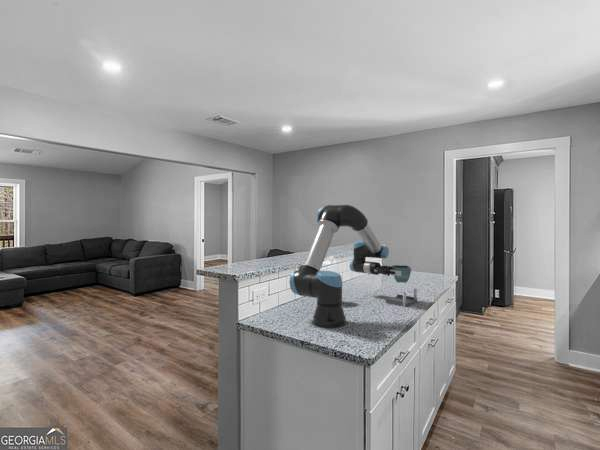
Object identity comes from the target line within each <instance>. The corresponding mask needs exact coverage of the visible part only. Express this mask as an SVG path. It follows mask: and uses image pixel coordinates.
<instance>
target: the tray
mask: <svg viewBox="0 0 600 450" xmlns="http://www.w3.org/2000/svg"><path fill="white" fill-rule="evenodd" d="M385 303H386V304H390V305H394V306H400V307H409V306H410V305H411V306H412V305H413V304H416V303H418V289H417V288H413V296H409V295H407V292H403V293H402V294H399V293H398V294H396V296H394V297H391V298H389V297H386V298H385Z"/></svg>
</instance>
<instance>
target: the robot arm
mask: <svg viewBox="0 0 600 450" xmlns="http://www.w3.org/2000/svg"><path fill="white" fill-rule="evenodd" d="M316 222H317V226H318V229H317V232H316V234H315V236H314V240H313V242H312V244H311V246H310V249H309V251H308V254H307V256H306V258H305V261H304V263H302V264H300V266H299V267H298V270H294V271H292V272H291V274H290V276H289V280H288V281H289V288H290V290H291V292H292V293H293V294H295V295H297V296H300V297H303V296H304V297H306V298H307V297H308V298H314V299H315V298H316V307H315V311H314V314H313V316H312V317H313V321H312V323H313V324H314V325H316V326H319V327H322V328H338V327H343V326H344V325H346V323H347V318H346V315H345V312H344V308H343V279H342V275H341V274H340V273H338V272H335V271H332V270H321V268H322V265H323V263H324V260H325V258H326V255H327V254H328V250H329V248H330V245H331V243H332V240H333V237H334V234H335V233H338V232H339V230H340V227H348V228H351V229H352V230H353V231H354V232H356V233H357V235H358V236H359V237H360V239H361V240H362V241H355V242H354V243H353V248H352V249H353V259H352V260H351V261H350V262H349V269H350V271H351V272H355V273H361V274H367V275H374V276H375V275H376V276H379V275H380V274H381V275H384V276H388V277H389V276H390V275H391V276H394V275H397V276H401V271H397V270H393V267H392V266H393V265H391V266H390V265H381V263H380V262H375V261H369V260H367V261H366V258H371V259H387V258H388V257H389V253H390V251H389V246H386V245H385V246H384V245H382V244H381V242H380V241H379V239H378V238H377V236H376V234H375V233H374V231H373V229H372V228H371V226H370V225H369V221H368V218H367V217H366V215H365V214H364V213H363V212H362V210H360V209H358V208H356V207H355V206H353V205H351V204H338V205H337V204H335V205H333V204H328V205H323V206H321V207H320V208H319V209H318V211H317V214H316ZM410 274H412V270H411V271H410Z"/></svg>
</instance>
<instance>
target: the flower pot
mask: <svg viewBox="0 0 600 450" xmlns="http://www.w3.org/2000/svg"><path fill="white" fill-rule="evenodd" d="M391 266H392V267H393V270H397V271H401V276H397V275H393V277H394V281H395V282H397V283H398V284H399V283H405V284H407V282H408V281H409V279H410V277H411V273H410V271H411V272H412V267H410V266H409V265H398V264H397V265H394V264H393V265H391Z"/></svg>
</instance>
